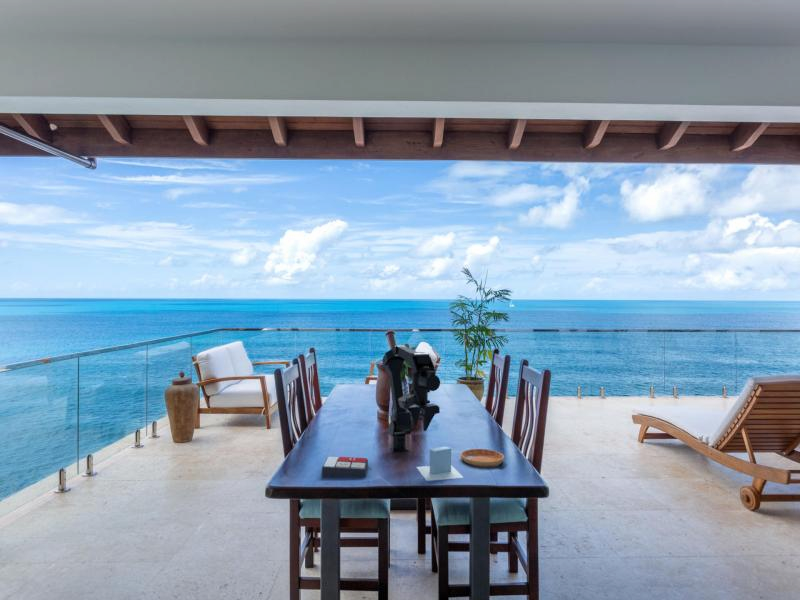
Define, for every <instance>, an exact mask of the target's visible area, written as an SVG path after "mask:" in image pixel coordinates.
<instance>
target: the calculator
mask: <svg viewBox="0 0 800 600" xmlns="http://www.w3.org/2000/svg"><path fill="white" fill-rule="evenodd" d="M368 464H369V459H367V458H366V457H353V456H352V457H351V456H339V457H338V456H328V457H326V459H325V461H324V463H323V465H322V466H321V478H335V477H336V478H366V476H367V471H368V466H369V465H368Z"/></svg>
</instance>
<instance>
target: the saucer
mask: <svg viewBox="0 0 800 600" xmlns="http://www.w3.org/2000/svg"><path fill="white" fill-rule="evenodd" d="M460 457H461V459H462V461H463V462H464V463H466V464H467V465H471V466H475V467H482V468H483V467H484V468H487V467H488V468H489V467H494V468H495V467H498V466H499V465H500V464H502V463H503V461H504V459H505V456H504V454H503V453H501V452H499V451H496V450H492V449H487V448H471V449H466V450H464V451H462V452H461V453H460ZM470 457H471V458H470Z"/></svg>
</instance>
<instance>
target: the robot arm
mask: <svg viewBox="0 0 800 600" xmlns="http://www.w3.org/2000/svg"><path fill="white" fill-rule="evenodd" d="M405 361H407V362H408V365H409V367H410V368H411V370H410V374H412V381H411V382H412V388H409V393H407V394H404V390H403V383H402V371H403V369H404V363H405ZM382 364H383V368H384V371H385V372H386V374H387V375H388V377H389V383H390V385H389V386H390V393H391V399H392V407H393V411H392V413H391V416H390V423H389V424H388V427H387V429H386V430H387V434H388V435H389V436H391V437H392V441H391V442H392V445H390V449H391V451H392V452H394V453H395V452H408V451H409V448H408V446H407V435H412V431H413V427H416V426H417V425H418V422H419V419H420V416H421V419H422V420H421V421H422V429H423V431H424V432H426V431H427V430H428V428H429V427H430V424H431V423H432V420H433V419H434V416H435V415H437V414H441V413H440V412H441V411H440V410H441V408H440V406H439V405H437V404H435V403H431V400H430V399H429V398H428V396H429V395H428V394H429V393H430V392H435V391H437V390H439V388H440V386H441V380H440V377H439V376H438V375H436V369H435V365H434V363H433V361H432V358H431V355H430V354H429V353H428V352H425V351H424V352H423V351H415V350H414V349H411V348H409V347H407V346H406V345H404V344H395V345H393V346H392V348H391V349H389V350H387V351H386V352H385V353H384V355H383V358H382Z"/></svg>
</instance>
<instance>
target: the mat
mask: <svg viewBox="0 0 800 600" xmlns="http://www.w3.org/2000/svg"><path fill="white" fill-rule="evenodd" d="M416 469H417V470H418V471H419V472H420V474H421V476H422V477H423V478H424V479H425V481H426V482H429V481H440V480H441V481H443V480H452V479H455V480H456V479H463V478H464V476H463V475H462V474H461V473H460V472H459V471H458V470H457V469H456V468H455V467H454V466H453V465H452V464H451V472H446V473H441V474H436V475H434V474H432V473H430V465H428V466H427V465H425V466H423V465H422V466H416Z"/></svg>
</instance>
